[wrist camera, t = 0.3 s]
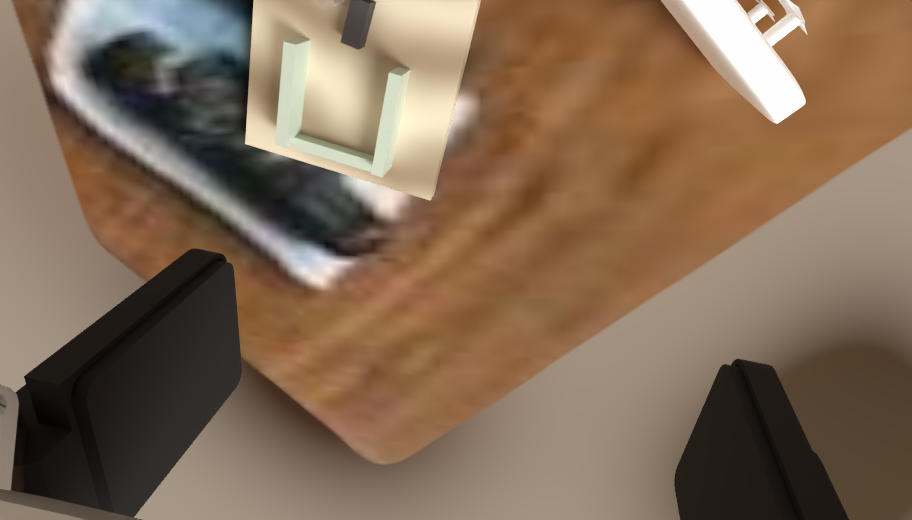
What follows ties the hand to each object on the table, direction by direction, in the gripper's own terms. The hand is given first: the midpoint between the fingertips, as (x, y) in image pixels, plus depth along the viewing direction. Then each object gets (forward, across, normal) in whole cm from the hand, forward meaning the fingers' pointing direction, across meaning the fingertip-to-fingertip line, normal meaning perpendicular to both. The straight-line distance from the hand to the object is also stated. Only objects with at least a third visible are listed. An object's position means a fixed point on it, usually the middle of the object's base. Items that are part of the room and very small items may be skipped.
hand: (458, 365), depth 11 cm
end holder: (+29, +13, +4) cm, 32 cm away
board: (+30, +12, -1) cm, 32 cm away
